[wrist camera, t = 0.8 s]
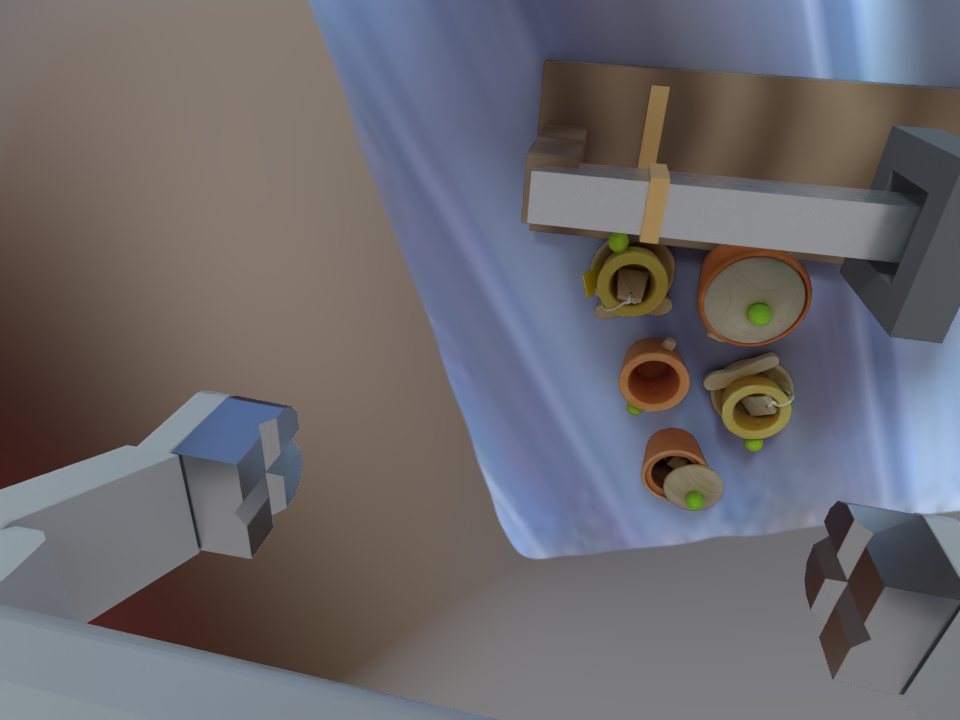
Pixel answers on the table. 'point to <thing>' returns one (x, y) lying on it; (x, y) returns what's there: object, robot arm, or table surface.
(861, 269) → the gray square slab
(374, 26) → the table surface
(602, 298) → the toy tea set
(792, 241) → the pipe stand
